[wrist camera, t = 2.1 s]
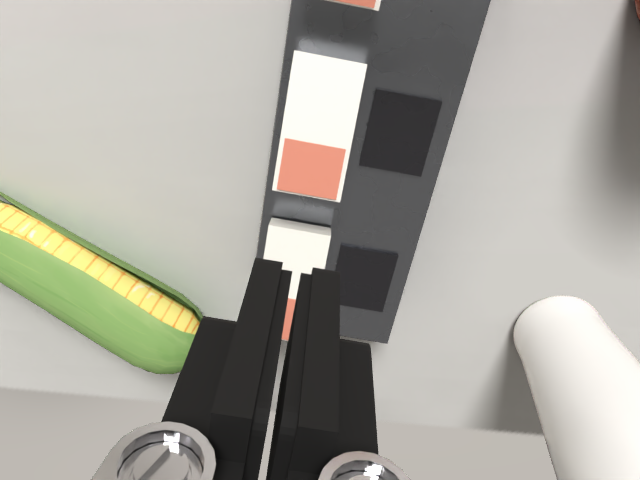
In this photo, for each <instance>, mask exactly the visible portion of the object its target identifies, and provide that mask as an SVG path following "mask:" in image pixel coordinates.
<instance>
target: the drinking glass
mask: <svg viewBox="0 0 640 480" xmlns="http://www.w3.org/2000/svg"><path fill="white" fill-rule="evenodd" d="M513 339H514V344H515V347H516V349H517V352H518V354H519V356H520V359H521V361H522V364H523V367H524V370H525V373H526V377H527V380H528V383H529V386H530V390H531V393H532V396H533V400H534V403H535V406H536V410H537V413H538V416H539V420H540V423H541V427H542V430H543V433H544V437H545V440H546V444H547V447H548V450H549V454H550V457H551V461H552V464H553V467H554V470H555V474H556V477H557V480H640V362H639V361H638V360H637V359H636V358H635V356H634V355H633V354H632V353H631V352H630V351H629V350H628V349H627V347H626V346H625V345H624V344H623V343H622V342H621V341H620V339H619V338H618V337H617V336H616V335H615V334H614V333H613V331H612V330H611V329H610V328H609V327H608V325H607V324H606V323H605V321H604V320H603V318H602V317H601V316H600V314H599V313H598V312H597V310H596V309H595V308H594V307H593V306H592V305H591V304H589V303H588V302H586V301H584V300H582V299H580V298H577V297H573V296H566V295H559V296H552V297H547V298H544V299H541V300H539V301H537V302H535V303H533V304H532V305H530V306H529V307H528V308H527V309H526V310H524V311H523V313H522V314H521V315H520V316H519V318H518V320H517V322H516V324H515V327H514V332H513Z"/></svg>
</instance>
